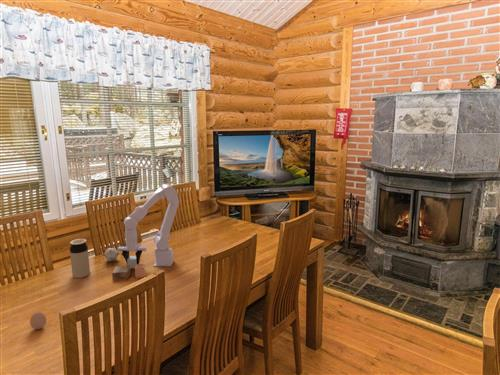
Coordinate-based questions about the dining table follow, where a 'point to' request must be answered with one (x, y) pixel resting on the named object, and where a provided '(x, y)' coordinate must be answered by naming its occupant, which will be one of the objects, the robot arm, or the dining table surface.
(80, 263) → the travel mug
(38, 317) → the egg
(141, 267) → the terracotta block
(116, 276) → the walnut base
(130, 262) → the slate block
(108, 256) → the pale grey round lump
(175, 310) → the dining table surface
